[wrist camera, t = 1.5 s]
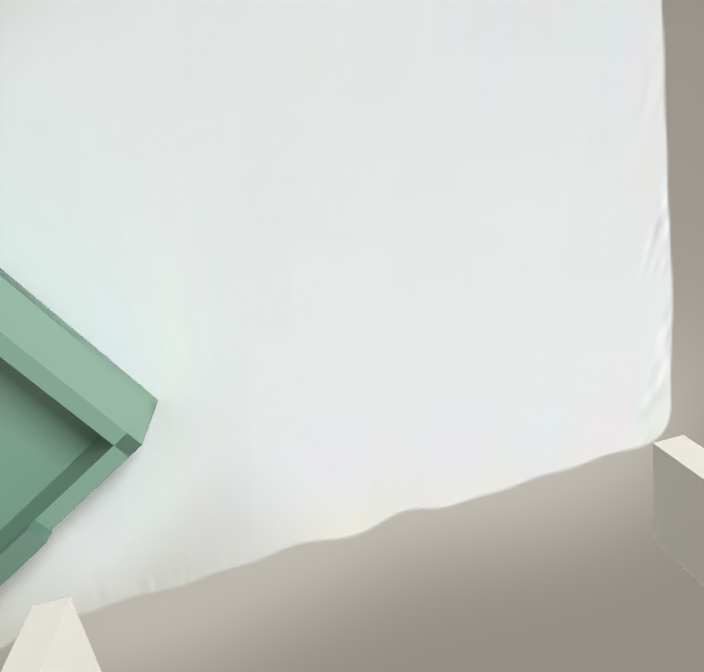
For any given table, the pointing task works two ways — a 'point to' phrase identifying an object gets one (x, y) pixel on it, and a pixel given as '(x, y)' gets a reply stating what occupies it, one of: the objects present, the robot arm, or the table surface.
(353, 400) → the table surface
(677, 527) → the robot arm
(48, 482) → the tote
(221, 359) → the table surface
